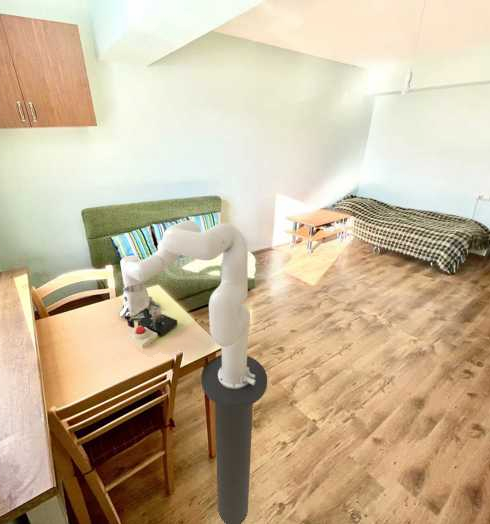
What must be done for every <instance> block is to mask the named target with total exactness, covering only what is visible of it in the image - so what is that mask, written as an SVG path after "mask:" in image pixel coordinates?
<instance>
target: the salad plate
mask: <svg viewBox="0 0 490 524" xmlns="http://www.w3.org/2000/svg"><path fill="white" fill-rule="evenodd" d="M158 308H161V305H160V304H157V303H156V301H155V300H154V299H153V298H152V301H151V305H150V309H149V314H151V312H152V311H153V310H156V309H158ZM123 309H124V305H123V306H122V308H121V309H120V311H119V315H120V314H121V312H122V311H123ZM126 314H127V312H126ZM126 314H125V315H126ZM129 317H130V315H129ZM143 318H144V315H143V310H142V311H140V312H139V313H137V314H135V315H133V318H132V319H133V320H138V319H143Z"/></svg>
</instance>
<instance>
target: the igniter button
mask: <svg viewBox="0 0 490 524" xmlns="http://www.w3.org/2000/svg"><path fill="white" fill-rule="evenodd" d="M136 328H137V329H136ZM136 328H135V329H136V333H137V334H143V333H145V328H144V327H142V326H140V327H138V326H137V327H136Z"/></svg>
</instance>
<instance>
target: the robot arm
mask: <svg viewBox="0 0 490 524" xmlns="http://www.w3.org/2000/svg"><path fill="white" fill-rule="evenodd" d="M220 255H222V259H221V267H220V271H221V279H220V284H219V285H218V286H217V287H216V289H214V291H213V292H212V293H211V294H210V297H209V301H208V319H209V322H208V323H209V332H210V336H211V339H212V340H213V341H214V342H215V343H216V344H217V345H218V346H220V347H221V355H222V367H221V368H220V369H219V371H218V379H219V381H220V383H221V384H222V385H223V386H225V387H227V388H231V389H239V388H242V387H244V386H246V385H247V384H248V383H249V384H252V385H255V382H256V380H254V378H255V375H254V374H251V373H250V371H249V367H247V356H248V346H249V345H248V344H249V330H250V325H251V313H250V310H249V309H248V307H247V306H246V305H245V304H244V303H245V301H246V299H247V298H248V289H249V288H248V287H249V285H248V283H249V282H248V281H249V280H248V276H249V274H248V273H249V272H248V261H249V260H248V259H249V257H248V256H249V254H248V244H247V240H246V238H245V236H244V234H243V233H242V231H241V230H240V229H239V228H237V226H235V225H233V224H231V223H226V222H222V223H218V224H215V225H213V226H211V227H209V228H208V229H207V230H204V231H203V232H202V229H201V226H200V225H199V224H198V223H197V222H195V221H193V220H189V219H187V220H183V221H180V222H178V223H175V224H173V225H170V226H169V227H168V228H166V229H165V231H164V232H163V233H162V237H161V240H159V242H158V244H157V250H156V251H155V252H154V253H152V254H151V255H149V256H147V257H145V258H143V259H140V257H139V256H137V255H126V256H123V257H122V258H121V259H120V262H119V264H120V270H121V274H122V275H121V276H122V281H123V287H122V291H123V306H124V309H123V311H122V312H121V314H120V313H119V317H121V318H123V319H125V320H126V322H127V326H128V327H129V328H132V329H135V328H136V327H135V319H132V318H133V315H135V314H137V313H139V312H140V311H142V310H143V315H144V317H147V318H149V317H150V316H149V309H150V305H151V301H152V299H153V297H152V296H149V292H148V289H147V286H146V285H145V284H144V283H145V282H146V281H148V280H151V278H153V277H155V276H156V275H158V274H159V273H161V272H163V271H164V270H165V269H166V268H168V267H169V266H170V265H171V264H172V263H174V262H175V261H176V260H178V258H180V257H181V256H182V257H186V258H190V259H196V260H200V261H213V260H215V259H216V258H218V257H219V256H220ZM126 312H127V314H126ZM125 314H126V315H125ZM129 315H130V317H129ZM250 377H251V378H250ZM252 378H253V379H252Z"/></svg>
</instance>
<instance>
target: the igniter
mask: <svg viewBox="0 0 490 524" xmlns="http://www.w3.org/2000/svg"><path fill="white" fill-rule="evenodd" d="M139 327H140V326H139ZM137 328H138V327H135V328H134V329H133V330H131V331H130V332H129V333H126V334H125V335H124V339H125V340H127V341H128V342H131V343H132V344H133V345H136V346H138V347H139V348H141V349H144V348H146V347H147V346H149V345H150V344H151V343H153V342H154V341H155V340H156V339H159V336H158V333H156V332H153V331H151V330H149V329H148V328H146V327H144V328H145V333H143V334H137V333H136V329H137Z"/></svg>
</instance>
